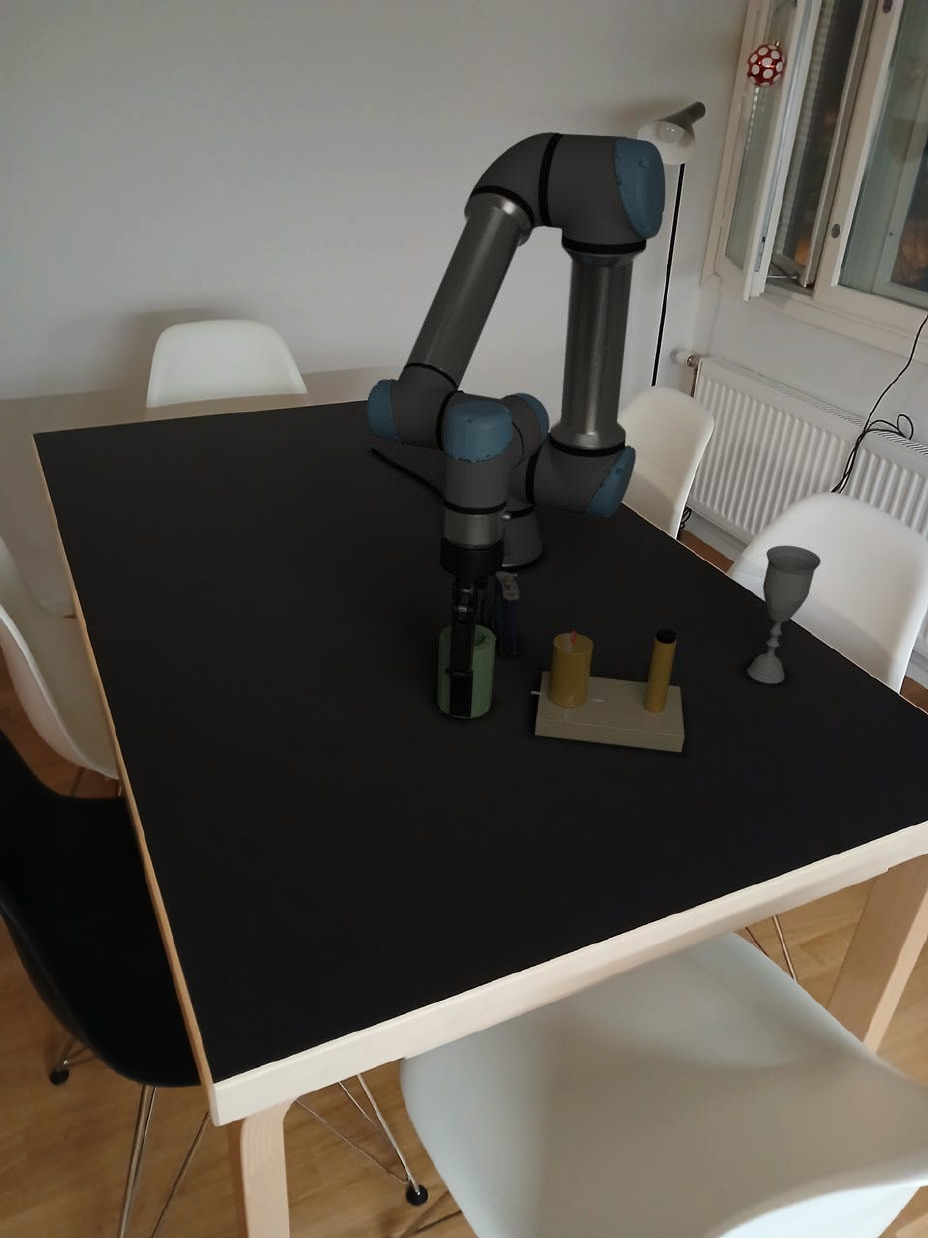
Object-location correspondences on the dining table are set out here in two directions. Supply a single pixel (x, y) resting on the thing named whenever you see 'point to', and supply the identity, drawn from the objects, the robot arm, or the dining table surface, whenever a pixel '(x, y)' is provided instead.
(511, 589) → the flask
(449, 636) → the sleeve
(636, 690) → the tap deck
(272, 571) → the dining table surface
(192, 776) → the dining table surface
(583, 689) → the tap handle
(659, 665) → the brown tall cylinder
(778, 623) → the chalice
